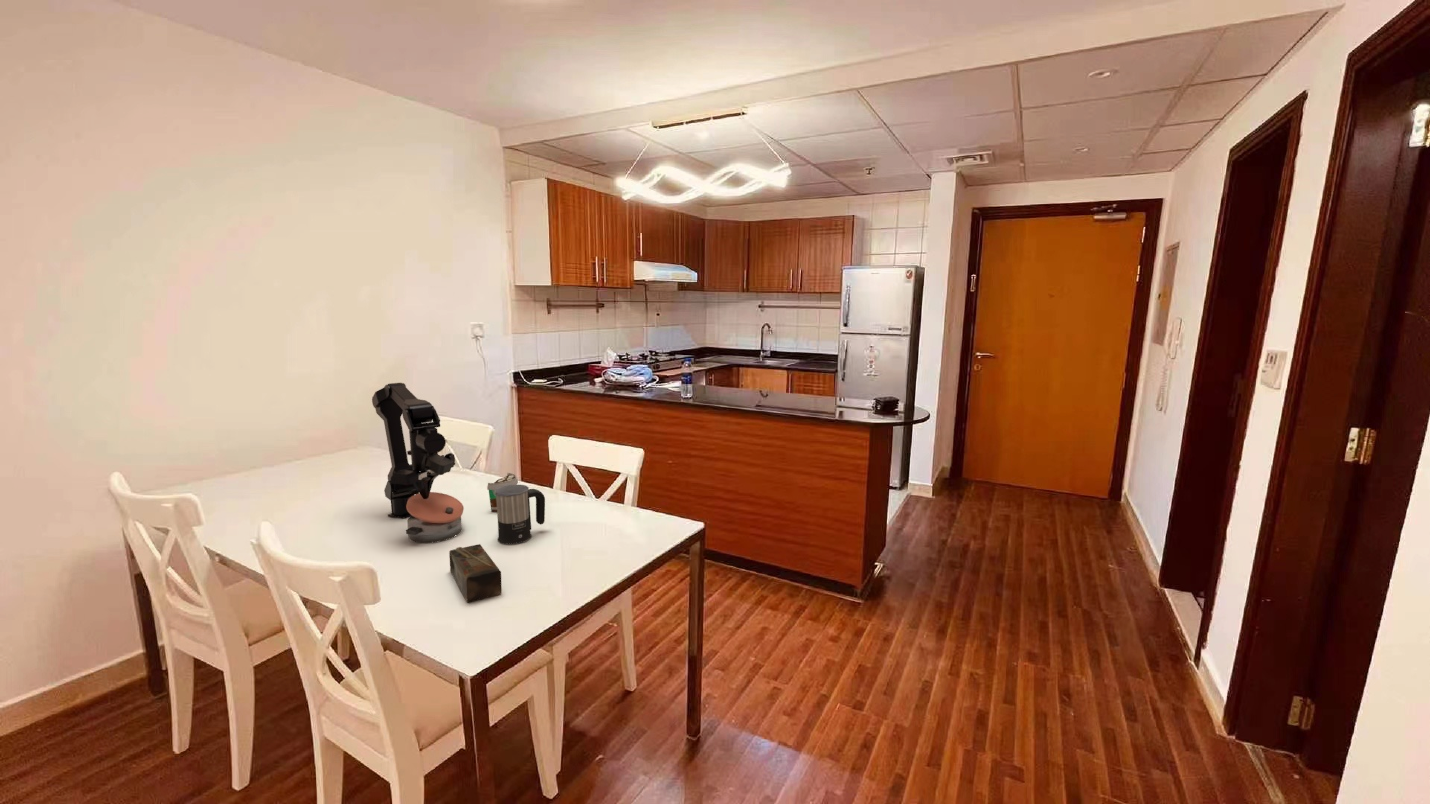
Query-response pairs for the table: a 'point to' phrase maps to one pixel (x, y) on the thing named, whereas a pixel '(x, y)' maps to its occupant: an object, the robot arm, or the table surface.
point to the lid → (435, 508)
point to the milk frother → (517, 512)
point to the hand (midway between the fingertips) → (425, 498)
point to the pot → (432, 530)
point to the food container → (505, 481)
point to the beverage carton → (475, 572)
